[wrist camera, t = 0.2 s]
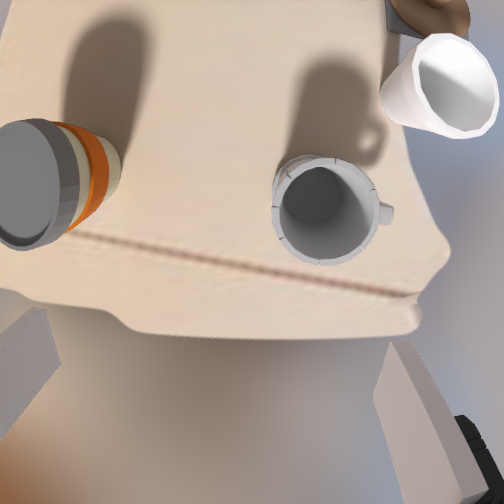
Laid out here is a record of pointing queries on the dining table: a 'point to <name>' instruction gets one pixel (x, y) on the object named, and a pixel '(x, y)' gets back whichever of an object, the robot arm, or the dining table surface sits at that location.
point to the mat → (400, 27)
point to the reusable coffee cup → (51, 180)
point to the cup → (325, 209)
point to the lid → (434, 16)
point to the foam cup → (442, 88)
